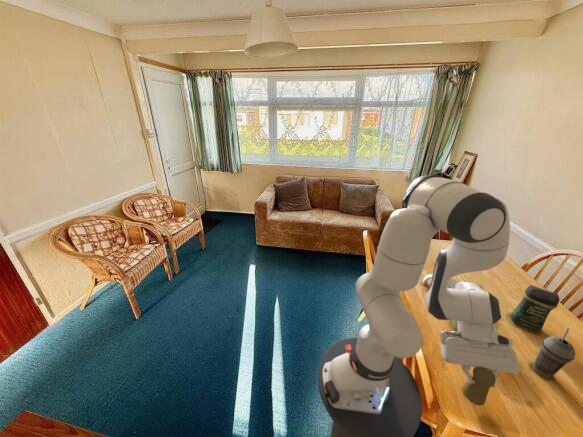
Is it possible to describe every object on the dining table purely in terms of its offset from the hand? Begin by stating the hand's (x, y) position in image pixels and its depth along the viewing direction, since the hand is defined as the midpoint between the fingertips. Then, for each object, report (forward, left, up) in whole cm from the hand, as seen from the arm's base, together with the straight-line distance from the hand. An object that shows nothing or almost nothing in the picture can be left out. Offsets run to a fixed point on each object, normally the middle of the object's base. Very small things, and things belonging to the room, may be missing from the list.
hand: (481, 385), depth 68 cm
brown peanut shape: (0, +1, -6) cm, 6 cm away
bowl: (+19, +24, -8) cm, 32 cm away
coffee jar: (+45, +26, -8) cm, 53 cm away
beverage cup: (+31, +7, -8) cm, 33 cm away
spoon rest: (+26, +47, -8) cm, 54 cm away
